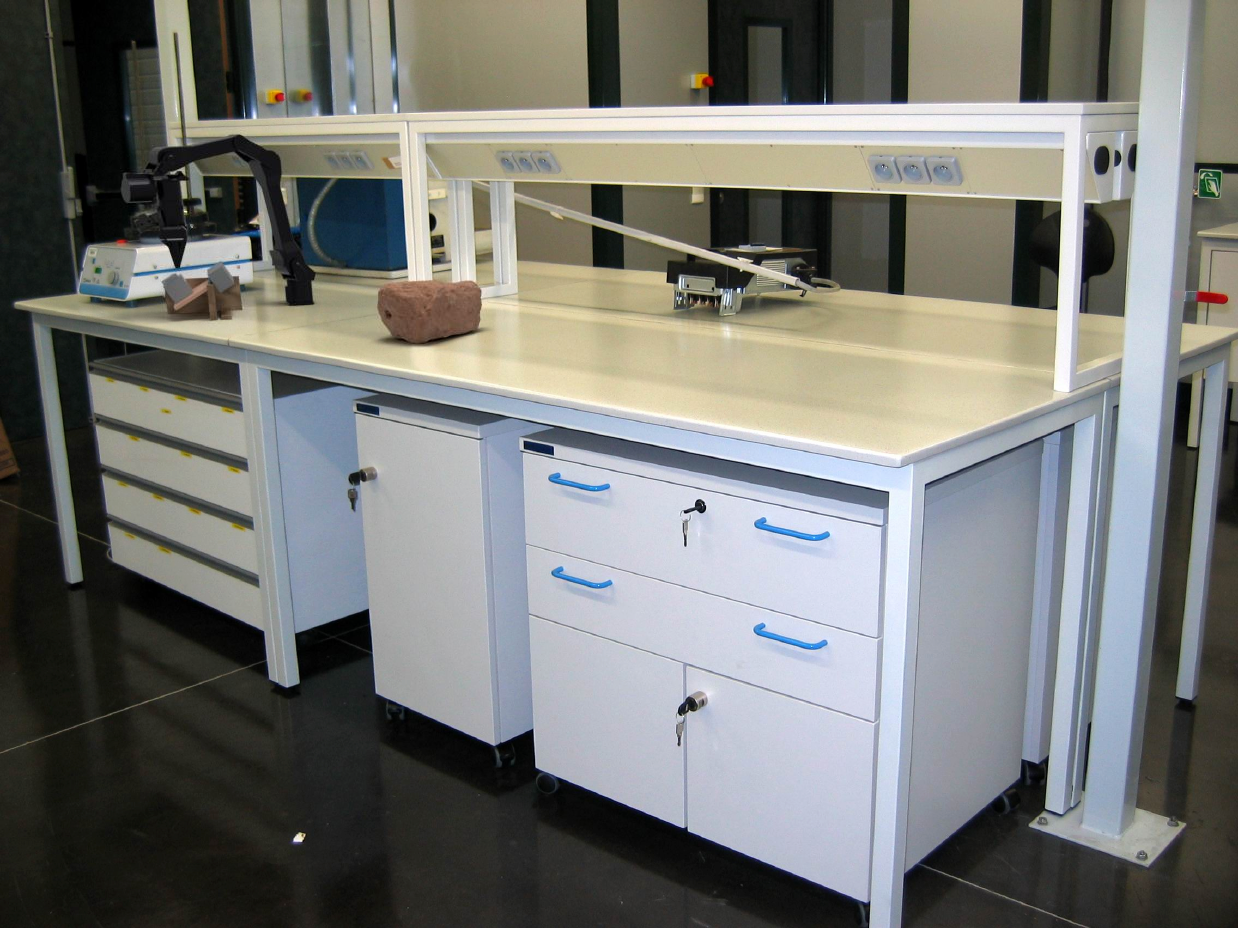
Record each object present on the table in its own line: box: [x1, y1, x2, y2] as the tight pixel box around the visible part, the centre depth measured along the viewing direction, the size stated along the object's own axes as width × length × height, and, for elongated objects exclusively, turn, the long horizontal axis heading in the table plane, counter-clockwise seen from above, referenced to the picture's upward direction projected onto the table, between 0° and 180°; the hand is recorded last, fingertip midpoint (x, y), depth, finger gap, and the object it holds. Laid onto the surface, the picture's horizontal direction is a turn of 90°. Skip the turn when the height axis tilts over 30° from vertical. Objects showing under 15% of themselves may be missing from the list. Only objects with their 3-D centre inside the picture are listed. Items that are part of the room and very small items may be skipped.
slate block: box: [160, 273, 194, 304], centre depth 278 cm, size 5×5×6 cm
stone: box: [377, 279, 483, 344], centre depth 248 cm, size 16×26×15 cm, turn 143°
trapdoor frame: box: [164, 275, 243, 321], centre depth 280 cm, size 18×17×8 cm
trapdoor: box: [174, 260, 234, 310], centre depth 280 cm, size 15×14×5 cm
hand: (178, 266), depth 277 cm, fingers open, 9 cm apart
